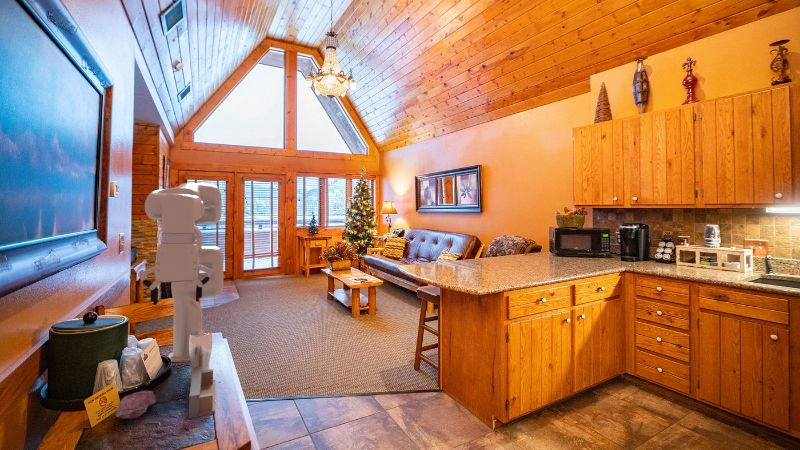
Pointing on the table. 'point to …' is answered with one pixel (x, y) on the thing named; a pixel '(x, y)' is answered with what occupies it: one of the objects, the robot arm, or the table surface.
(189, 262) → the robot arm
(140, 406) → the pink rounded lump
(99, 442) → the table surface
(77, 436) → the table surface
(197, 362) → the beer glass
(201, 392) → the beige stepped bar
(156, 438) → the table surface
